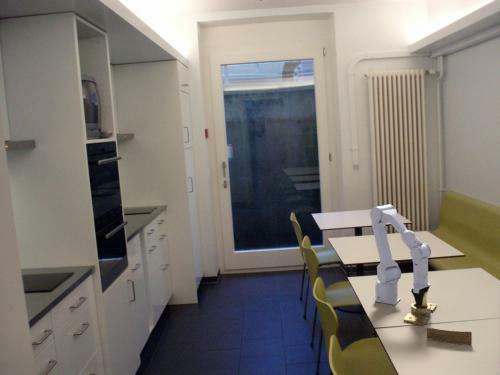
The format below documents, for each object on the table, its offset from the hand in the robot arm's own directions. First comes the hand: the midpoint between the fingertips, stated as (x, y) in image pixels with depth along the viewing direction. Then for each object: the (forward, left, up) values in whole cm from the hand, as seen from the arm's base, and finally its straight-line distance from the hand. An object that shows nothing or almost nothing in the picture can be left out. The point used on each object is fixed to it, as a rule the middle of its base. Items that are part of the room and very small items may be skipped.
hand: (420, 303), depth 199 cm
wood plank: (+16, -21, -5) cm, 26 cm away
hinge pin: (+1, 0, -2) cm, 2 cm away
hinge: (0, 0, -4) cm, 4 cm away
